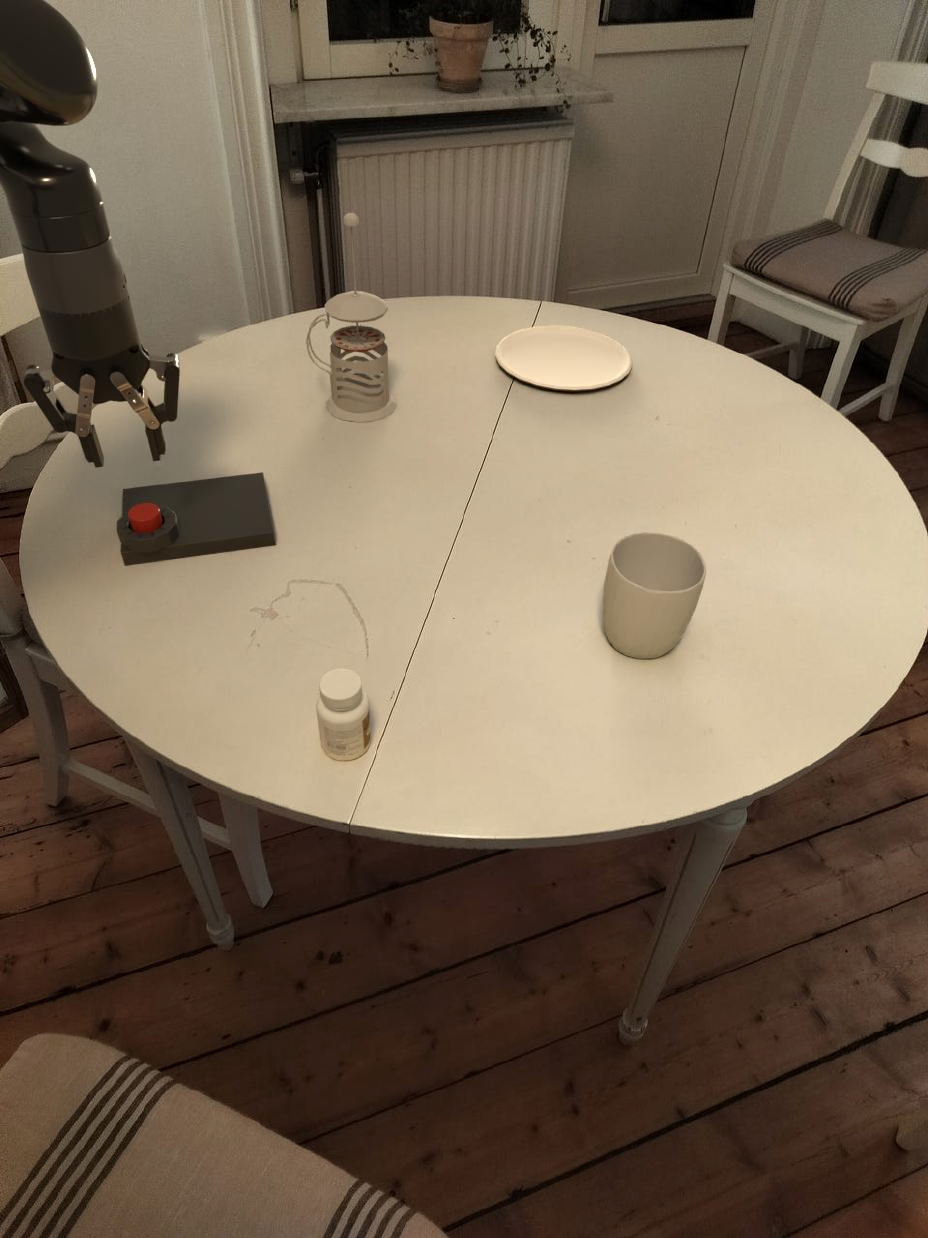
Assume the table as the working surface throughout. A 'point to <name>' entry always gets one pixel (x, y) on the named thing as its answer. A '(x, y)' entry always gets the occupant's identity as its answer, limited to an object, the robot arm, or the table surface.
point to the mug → (650, 593)
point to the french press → (357, 391)
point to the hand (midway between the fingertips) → (128, 459)
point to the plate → (563, 358)
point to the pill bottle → (343, 715)
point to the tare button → (145, 518)
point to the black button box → (198, 518)
